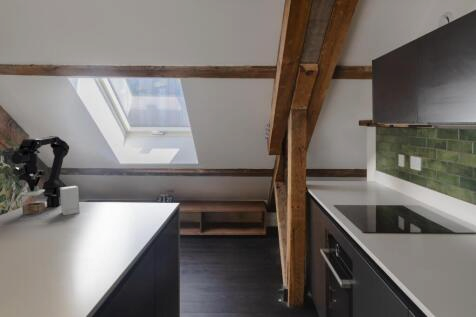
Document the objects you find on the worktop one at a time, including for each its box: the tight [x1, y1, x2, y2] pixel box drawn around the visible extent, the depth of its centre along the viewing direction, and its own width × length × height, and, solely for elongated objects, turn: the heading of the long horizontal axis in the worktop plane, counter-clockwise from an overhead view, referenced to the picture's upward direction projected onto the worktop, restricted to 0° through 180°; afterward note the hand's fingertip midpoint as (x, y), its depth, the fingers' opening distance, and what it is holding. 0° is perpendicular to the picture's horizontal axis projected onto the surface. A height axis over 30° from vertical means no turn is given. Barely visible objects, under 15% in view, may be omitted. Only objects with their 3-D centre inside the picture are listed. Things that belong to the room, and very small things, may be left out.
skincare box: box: [60, 185, 81, 216], centre depth 176 cm, size 8×6×15 cm
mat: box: [18, 210, 54, 221], centre depth 171 cm, size 11×16×1 cm
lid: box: [20, 185, 45, 197], centre depth 174 cm, size 9×9×4 cm
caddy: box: [22, 201, 46, 216], centre depth 175 cm, size 8×8×5 cm
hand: (33, 190), depth 174 cm, fingers closed on lid, 2 cm apart
